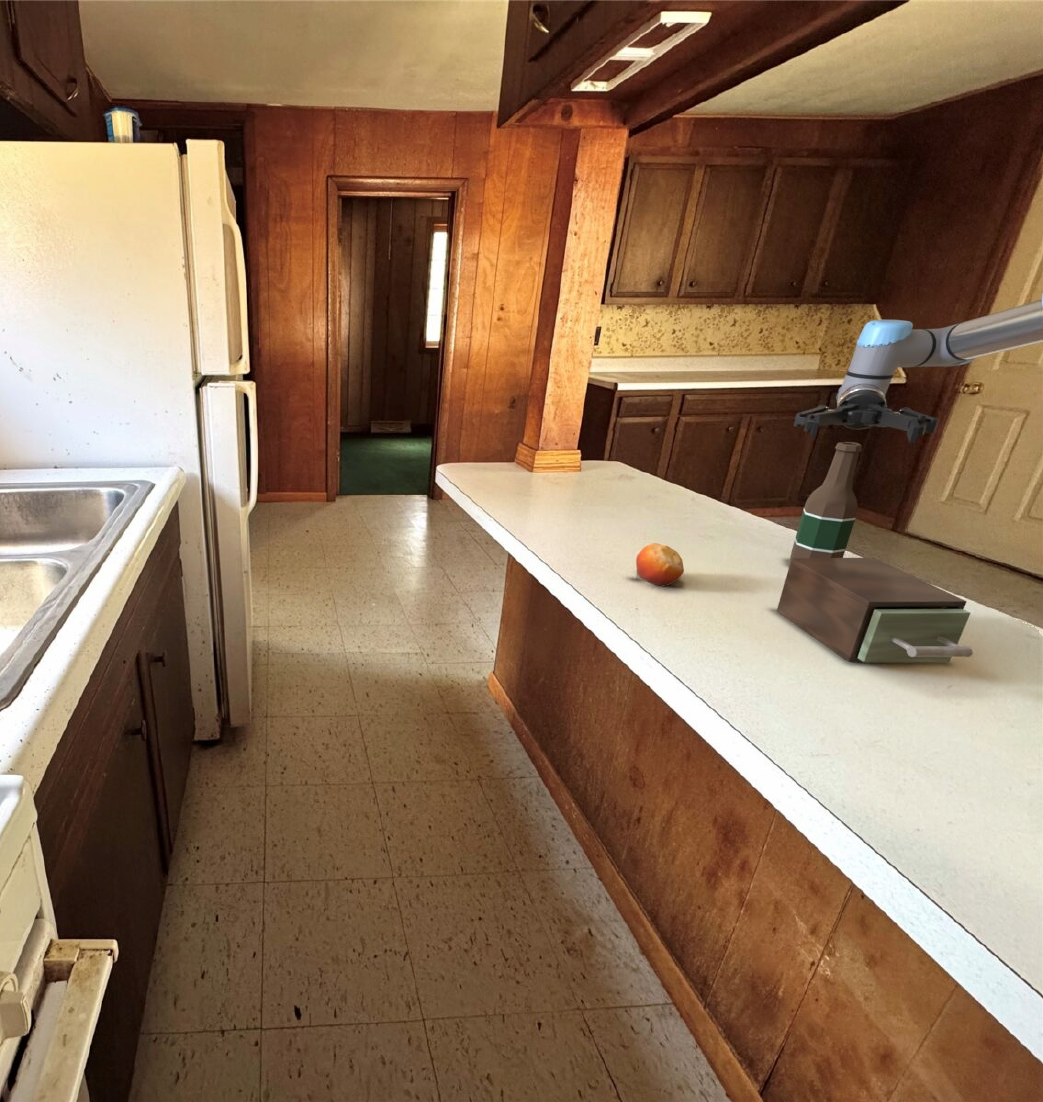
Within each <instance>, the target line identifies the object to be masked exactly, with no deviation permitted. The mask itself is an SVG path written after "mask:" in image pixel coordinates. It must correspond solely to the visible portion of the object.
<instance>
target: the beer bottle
mask: <svg viewBox="0 0 1043 1102" xmlns="http://www.w3.org/2000/svg"><path fill="white" fill-rule="evenodd" d="M834 449H835V453H834V456H833V459H832V461H831V464H830V467H829V469H828V472H827V474H826V477H825V478H824V480H823V482H822V484H821V485H820V486H819V487H817V488H816V489H815V490H813V491H812V492H811V494H810V495H809V496H808V497H807V498H806V502H805V504H804V507H803V510H802V513H801V518H800V520H799V524H798V528H797V531H796V535H795V538H794V541H793V545H792V548H791V553H790V557H789V561H791V559H792V558H844V555H845V553H846V549H847V548H848V547H847V546H848V544H849V540H850V537H851V534H852V531H853V527H854V524H855V521H856V518H857V514H858V509H859V507H858V499H857V497H856V495H855V493H854V491H853V481H854V476H855V472H856V469H857V464H858V459H859V455H860V452H862V451H863V445H862V444H861V443H859V442H853V441H852V442H851V441H841V442H840V441H839V442H837V444H836V446H835V447H834Z"/></svg>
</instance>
